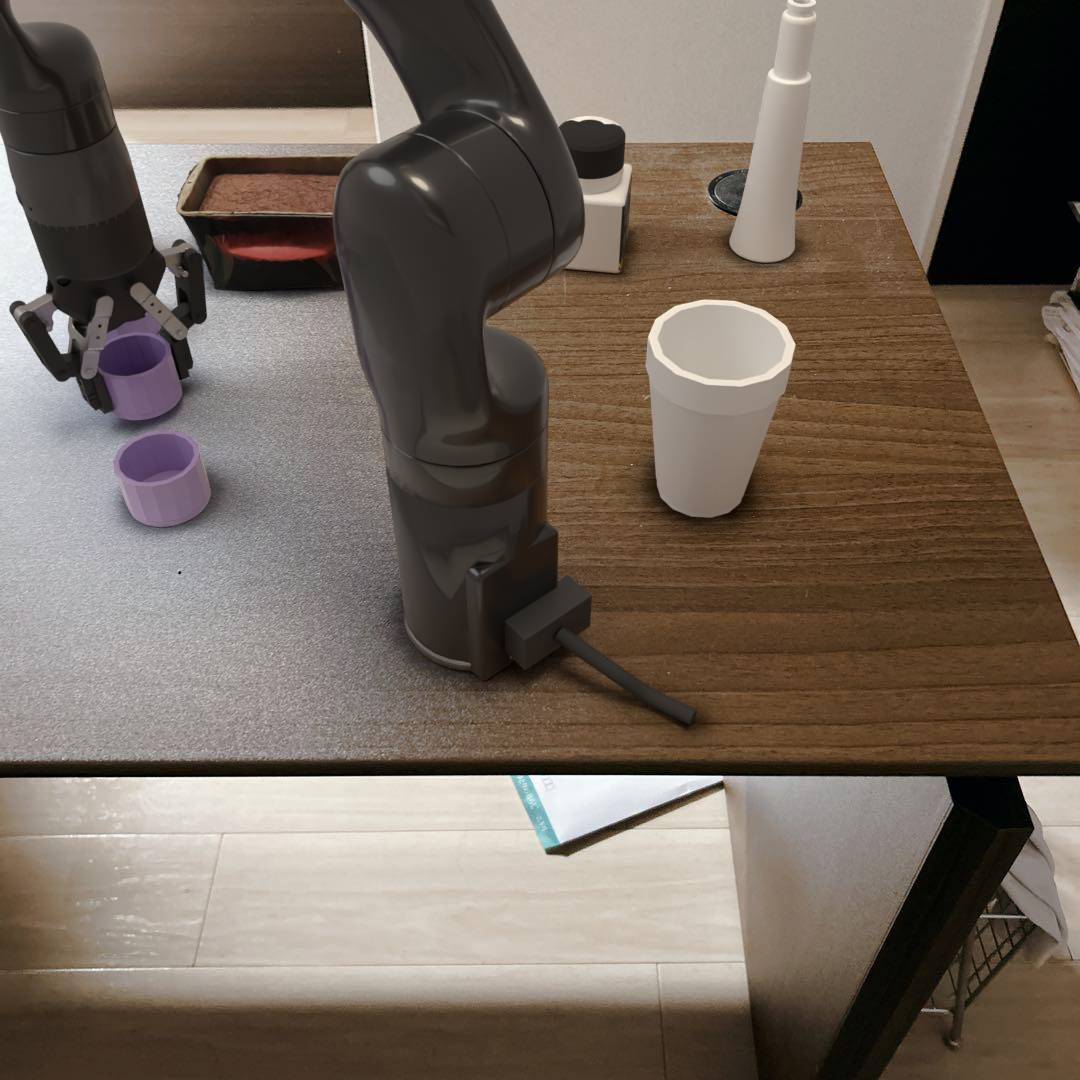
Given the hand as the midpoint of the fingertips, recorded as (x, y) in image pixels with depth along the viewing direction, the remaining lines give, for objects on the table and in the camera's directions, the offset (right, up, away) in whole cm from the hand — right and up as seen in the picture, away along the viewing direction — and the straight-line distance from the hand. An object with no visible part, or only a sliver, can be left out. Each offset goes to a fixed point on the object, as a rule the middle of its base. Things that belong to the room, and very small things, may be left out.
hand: (142, 390), depth 88 cm
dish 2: (0, 0, 0) cm, 1 cm away
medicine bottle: (+35, +15, +17) cm, 42 cm away
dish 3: (+4, -9, -6) cm, 12 cm away
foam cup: (+43, -8, -5) cm, 44 cm away
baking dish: (+8, +14, +16) cm, 23 cm away
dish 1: (-4, +6, +8) cm, 11 cm away
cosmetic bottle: (+52, +16, +17) cm, 57 cm away
